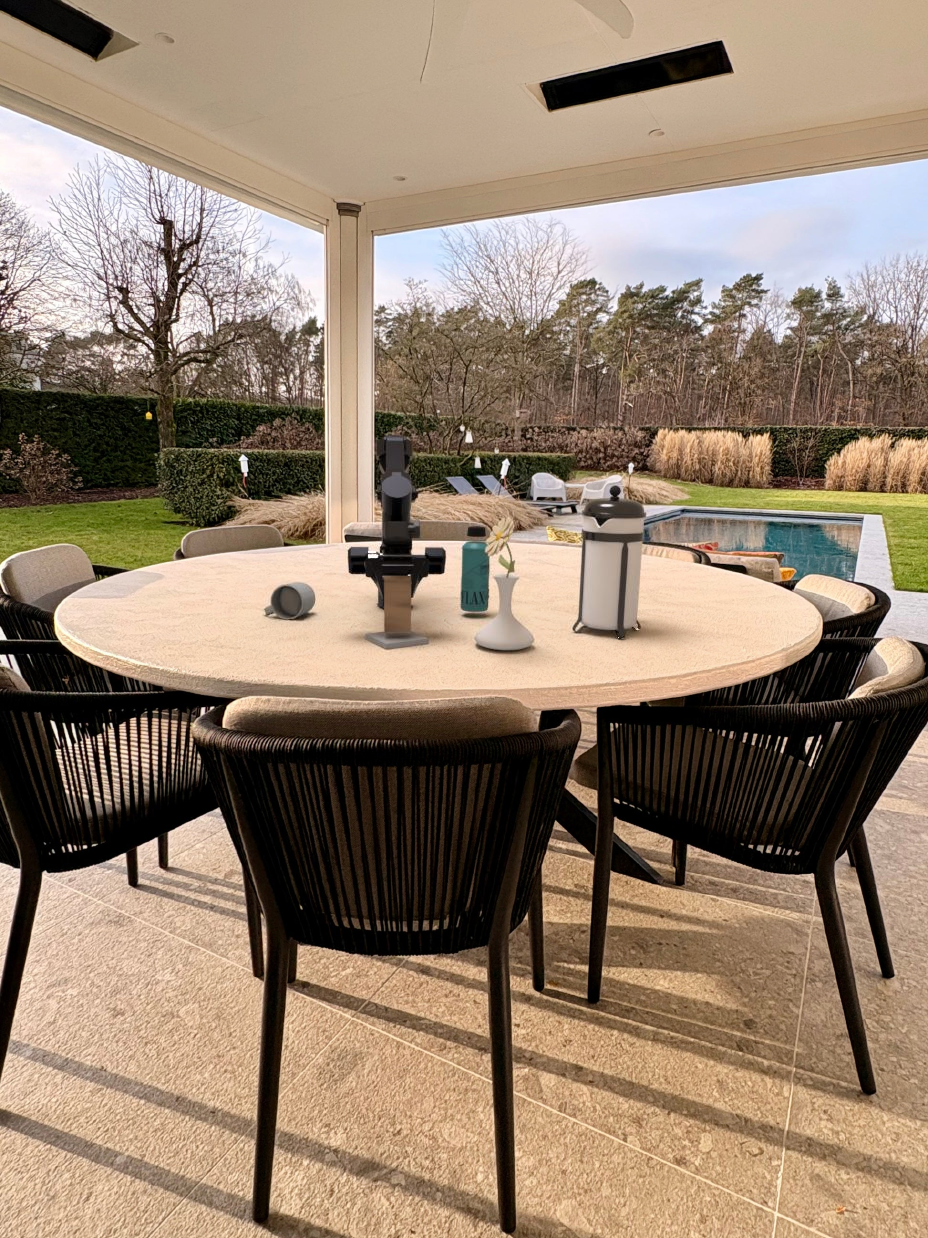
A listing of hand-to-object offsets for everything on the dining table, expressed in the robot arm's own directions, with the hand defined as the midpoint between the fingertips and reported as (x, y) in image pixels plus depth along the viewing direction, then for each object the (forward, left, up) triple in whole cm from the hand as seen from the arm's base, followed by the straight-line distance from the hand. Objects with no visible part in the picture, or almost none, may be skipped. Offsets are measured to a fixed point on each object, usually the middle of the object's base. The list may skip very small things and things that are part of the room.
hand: (397, 596), depth 147 cm
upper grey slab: (0, -1, -9) cm, 9 cm away
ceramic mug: (+10, -33, -9) cm, 36 cm away
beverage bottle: (-26, -15, -9) cm, 32 cm away
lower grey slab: (-1, -1, -10) cm, 10 cm away
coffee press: (-45, +9, -9) cm, 46 cm away
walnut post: (-1, -1, -7) cm, 7 cm away
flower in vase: (-16, +12, -9) cm, 22 cm away
